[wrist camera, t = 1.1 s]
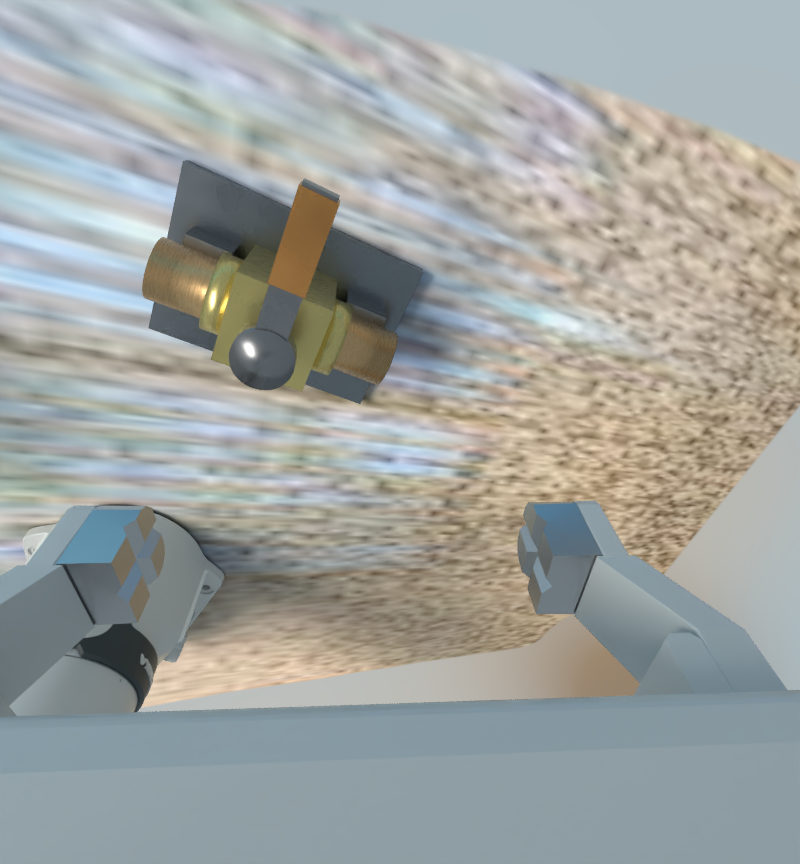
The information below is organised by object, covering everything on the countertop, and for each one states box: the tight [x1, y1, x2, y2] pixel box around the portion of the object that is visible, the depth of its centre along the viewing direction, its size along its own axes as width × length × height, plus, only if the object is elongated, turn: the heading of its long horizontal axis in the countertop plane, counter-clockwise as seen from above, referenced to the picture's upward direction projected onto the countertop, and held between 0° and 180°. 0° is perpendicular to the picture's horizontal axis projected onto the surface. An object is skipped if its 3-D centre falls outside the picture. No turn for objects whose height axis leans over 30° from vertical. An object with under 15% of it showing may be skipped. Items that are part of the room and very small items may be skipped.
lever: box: [229, 179, 340, 390], centre depth 26 cm, size 11×4×1 cm, turn 155°
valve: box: [142, 160, 423, 404], centre depth 33 cm, size 12×17×10 cm
